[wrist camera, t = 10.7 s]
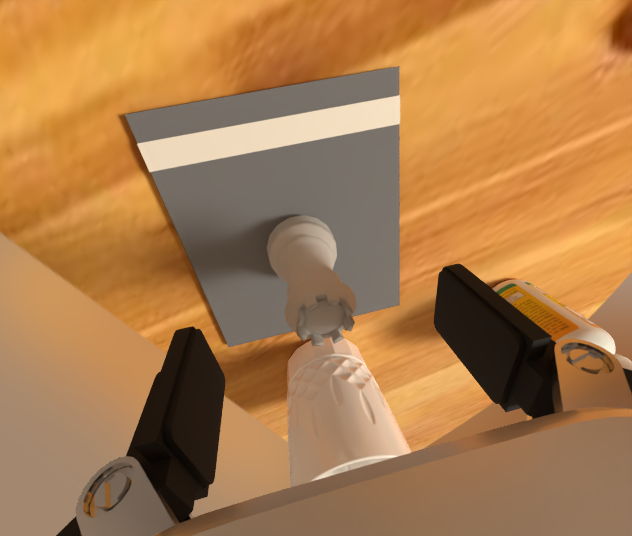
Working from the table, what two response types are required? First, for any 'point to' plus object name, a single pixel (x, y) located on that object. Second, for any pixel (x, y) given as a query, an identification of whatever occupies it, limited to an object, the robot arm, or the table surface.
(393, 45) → the table surface
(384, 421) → the white cup
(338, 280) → the rook chess piece
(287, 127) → the mat
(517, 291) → the supplement bottle
